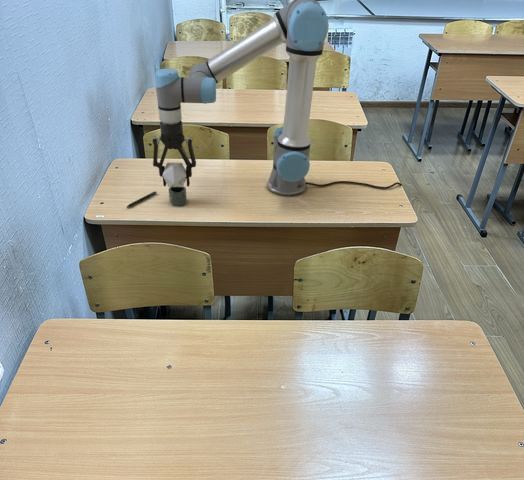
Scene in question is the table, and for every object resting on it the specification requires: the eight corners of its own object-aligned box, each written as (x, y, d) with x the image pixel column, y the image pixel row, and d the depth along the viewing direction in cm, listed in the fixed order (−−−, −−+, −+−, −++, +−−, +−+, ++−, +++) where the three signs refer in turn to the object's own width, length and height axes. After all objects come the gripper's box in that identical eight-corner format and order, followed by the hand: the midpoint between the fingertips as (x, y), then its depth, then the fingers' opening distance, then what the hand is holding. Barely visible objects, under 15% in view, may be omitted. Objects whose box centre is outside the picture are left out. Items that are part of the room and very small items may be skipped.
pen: (125, 208, 188) (125, 205, 187) (154, 193, 197) (154, 190, 197) (127, 209, 187) (127, 206, 187) (156, 193, 197) (156, 191, 196)
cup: (187, 198, 195) (186, 185, 191) (186, 206, 190) (185, 192, 186) (171, 198, 195) (169, 185, 191) (169, 206, 190) (167, 192, 186)
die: (177, 194, 184) (191, 170, 180) (155, 180, 181) (169, 155, 178) (180, 192, 191) (193, 169, 188) (159, 179, 189) (172, 155, 186)
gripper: (202, 117, 175) (205, 180, 191) (141, 116, 174) (149, 179, 190) (200, 125, 170) (204, 189, 185) (138, 124, 169) (147, 188, 184)
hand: (176, 184), depth 188 cm, fingers closed on die, 8 cm apart
